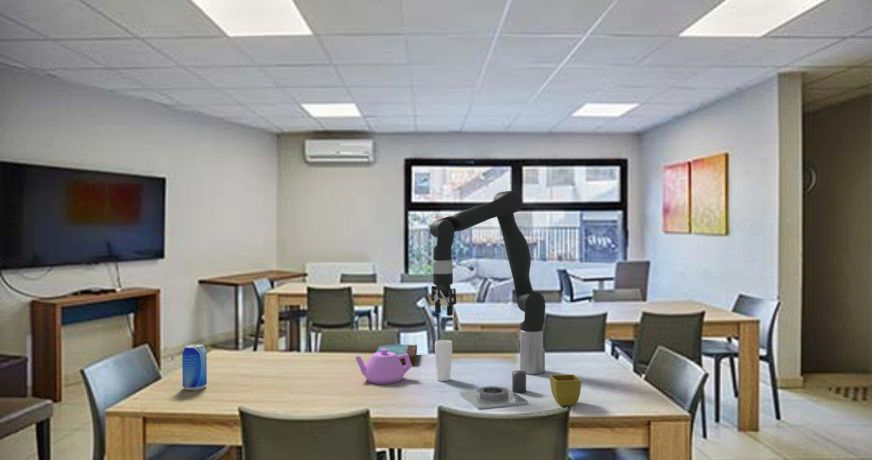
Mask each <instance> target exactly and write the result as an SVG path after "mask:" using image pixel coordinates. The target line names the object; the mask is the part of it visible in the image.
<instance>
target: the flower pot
mask: <svg viewBox="0 0 872 460" xmlns="http://www.w3.org/2000/svg"><path fill="white" fill-rule="evenodd" d="M549 384H550V389H551V394H552V397H553V398H554V401H555V402H556V403H557V404H558V405H559V406H561V407H563V406H572V407H573V406H576V404H577V403H578V401H579V398H580V395H581V389H582V380H581V378H579V377H577V376H576V375H575V374H574V373H573V374H572V373H571V374H570V373H569V374H549Z"/></svg>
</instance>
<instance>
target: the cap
mask: <svg viewBox="0 0 872 460" xmlns="http://www.w3.org/2000/svg"><path fill="white" fill-rule="evenodd" d="M511 373H512V374H511V376H512V377H511V380H512V382H511V383H512V385H511V386H512V387H511V388H512V389H511V391H513V392H514V393H516V394H525V393H526V392H527V374H526V372H525V371H520V369H519V370H513V371H511Z"/></svg>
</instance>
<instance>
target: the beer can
mask: <svg viewBox="0 0 872 460" xmlns="http://www.w3.org/2000/svg"><path fill="white" fill-rule="evenodd" d="M181 353H182V356H181V358H182V359H181V360H182V367H181V368H182V387H183V388H184V390H185V391H188V390H194V391H199V390H202V389H205V388H206V386H207V383H208V380H207V379H208V378H207V375H208V374H207V373H208V372H207V371H208V369H207V349H206V348H205V347H204V344H203V343H191V344H190V343H189V344H186V345H185V346H184V348H183V351H182V352H181Z"/></svg>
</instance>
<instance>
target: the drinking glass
mask: <svg viewBox="0 0 872 460" xmlns="http://www.w3.org/2000/svg"><path fill="white" fill-rule="evenodd" d="M434 355H435V357H434V358H435V368H436V380H437V381H439V382H448V381H450V380H451V374H452V373H451V371H452V360H453V359H452V357H453V342H452V340H450V339H448V340H447V339H438V340H435V342H434Z"/></svg>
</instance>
